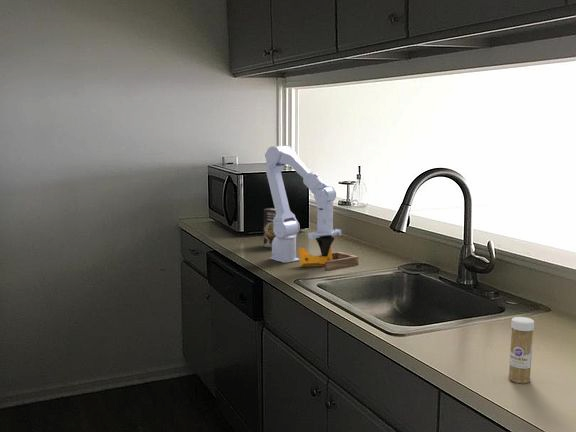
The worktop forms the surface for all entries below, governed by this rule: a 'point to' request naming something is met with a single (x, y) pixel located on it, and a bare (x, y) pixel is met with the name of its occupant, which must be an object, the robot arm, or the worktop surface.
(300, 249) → the pipe clamp
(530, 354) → the sprinkles bottle
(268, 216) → the coffee box
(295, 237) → the robot arm
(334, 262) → the brown wooden tray
